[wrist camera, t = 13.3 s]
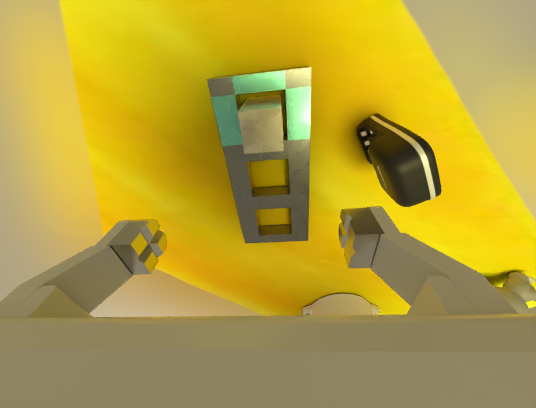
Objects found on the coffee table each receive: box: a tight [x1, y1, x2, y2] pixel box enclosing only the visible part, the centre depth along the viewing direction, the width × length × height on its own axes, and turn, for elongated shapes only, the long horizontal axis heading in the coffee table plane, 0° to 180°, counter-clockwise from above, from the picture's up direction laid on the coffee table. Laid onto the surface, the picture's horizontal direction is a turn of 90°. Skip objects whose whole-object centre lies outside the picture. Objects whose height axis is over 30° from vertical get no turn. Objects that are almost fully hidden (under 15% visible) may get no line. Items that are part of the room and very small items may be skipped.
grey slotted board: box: [207, 66, 311, 243], centre depth 30 cm, size 25×11×3 cm, turn 6°
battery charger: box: [357, 114, 441, 207], centre depth 23 cm, size 7×4×11 cm, turn 33°
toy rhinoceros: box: [493, 272, 536, 314], centre depth 41 cm, size 7×12×8 cm, turn 125°
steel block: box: [238, 95, 284, 154], centre depth 23 cm, size 4×4×8 cm
